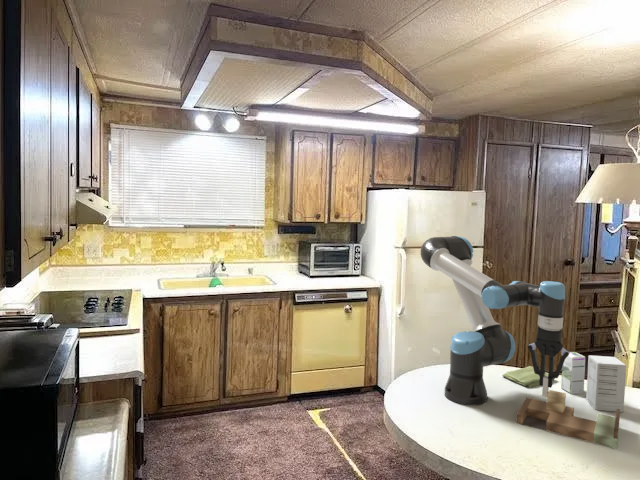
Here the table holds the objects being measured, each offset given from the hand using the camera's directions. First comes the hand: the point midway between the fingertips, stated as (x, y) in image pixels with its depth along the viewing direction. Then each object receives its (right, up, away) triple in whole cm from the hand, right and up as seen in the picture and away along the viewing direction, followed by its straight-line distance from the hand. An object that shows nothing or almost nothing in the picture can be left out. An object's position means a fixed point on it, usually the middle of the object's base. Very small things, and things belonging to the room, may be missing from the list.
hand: (545, 395), depth 160 cm
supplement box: (+25, -6, +8) cm, 27 cm away
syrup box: (+20, -5, +20) cm, 29 cm away
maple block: (+3, -4, -2) cm, 5 cm away
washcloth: (+9, -5, +32) cm, 33 cm away
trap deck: (+4, -7, -7) cm, 11 cm away
